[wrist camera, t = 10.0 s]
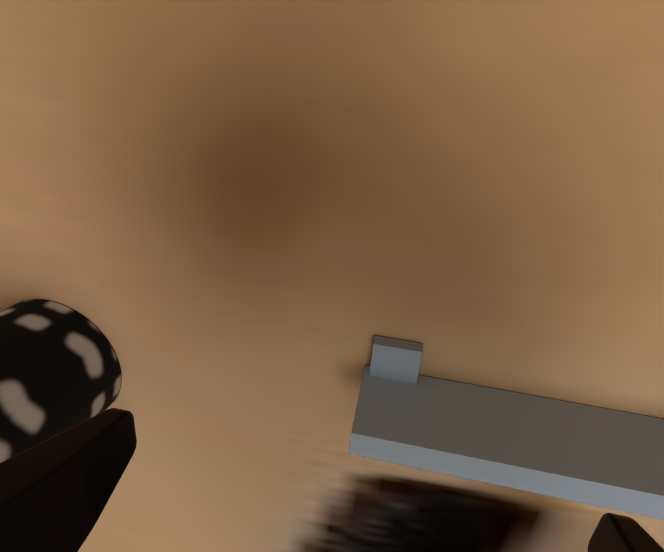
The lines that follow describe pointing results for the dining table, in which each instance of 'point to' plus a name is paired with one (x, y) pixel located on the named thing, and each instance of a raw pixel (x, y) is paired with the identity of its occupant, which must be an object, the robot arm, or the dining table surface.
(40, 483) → the robot arm
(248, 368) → the dining table surface
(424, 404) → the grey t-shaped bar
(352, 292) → the dining table surface
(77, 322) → the spotted tube
